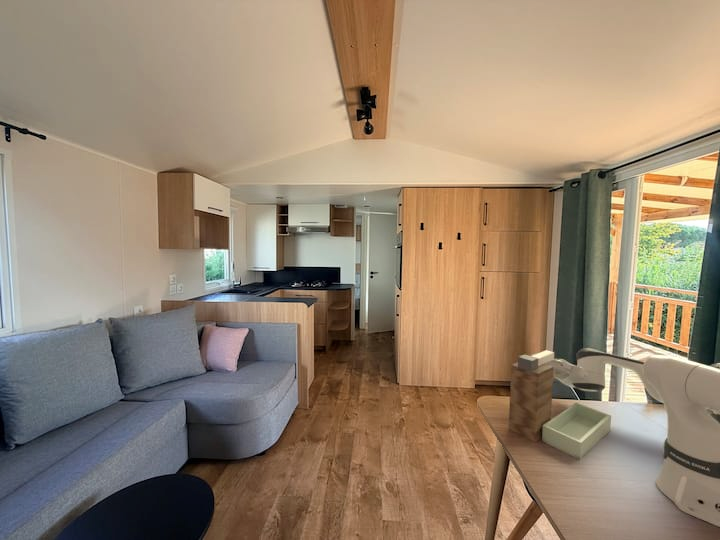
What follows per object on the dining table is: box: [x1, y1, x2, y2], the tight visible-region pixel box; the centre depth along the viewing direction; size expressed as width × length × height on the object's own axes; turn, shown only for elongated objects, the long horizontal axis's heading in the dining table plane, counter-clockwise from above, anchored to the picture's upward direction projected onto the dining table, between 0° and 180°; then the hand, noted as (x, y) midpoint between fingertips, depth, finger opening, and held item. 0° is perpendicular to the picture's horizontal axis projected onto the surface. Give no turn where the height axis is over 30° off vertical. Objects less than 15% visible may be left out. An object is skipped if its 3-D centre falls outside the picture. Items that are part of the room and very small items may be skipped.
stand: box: [508, 362, 554, 443], centre depth 115 cm, size 10×12×26 cm
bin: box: [541, 402, 612, 461], centre depth 113 cm, size 12×30×6 cm, turn 125°
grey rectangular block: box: [517, 349, 555, 371], centre depth 117 cm, size 5×21×4 cm, turn 124°
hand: (549, 359), depth 124 cm, fingers open, 8 cm apart
